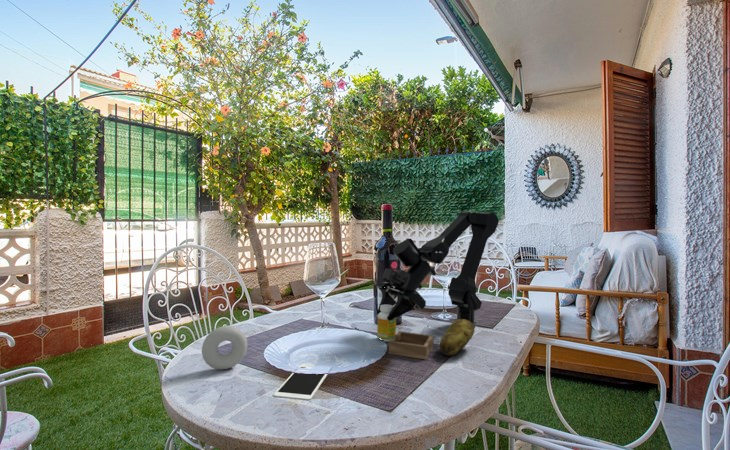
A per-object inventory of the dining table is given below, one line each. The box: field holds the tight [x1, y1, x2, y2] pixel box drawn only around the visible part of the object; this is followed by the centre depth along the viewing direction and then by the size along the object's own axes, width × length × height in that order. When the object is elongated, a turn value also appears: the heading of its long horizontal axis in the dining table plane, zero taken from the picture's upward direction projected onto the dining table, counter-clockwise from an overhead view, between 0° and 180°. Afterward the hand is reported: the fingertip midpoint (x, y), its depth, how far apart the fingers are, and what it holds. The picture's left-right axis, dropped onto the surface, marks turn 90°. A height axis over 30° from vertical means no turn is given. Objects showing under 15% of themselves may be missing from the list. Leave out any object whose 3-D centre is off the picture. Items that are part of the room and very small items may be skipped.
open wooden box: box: [388, 330, 434, 360], centre depth 99 cm, size 10×10×3 cm
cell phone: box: [273, 363, 329, 401], centre depth 80 cm, size 8×16×1 cm, turn 170°
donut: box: [201, 325, 249, 370], centre depth 85 cm, size 10×4×10 cm, turn 118°
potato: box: [439, 318, 475, 357], centre depth 99 cm, size 8×13×8 cm, turn 122°
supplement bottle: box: [376, 304, 397, 343], centre depth 108 cm, size 5×5×10 cm
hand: (382, 317), depth 107 cm, fingers closed on supplement bottle, 5 cm apart
